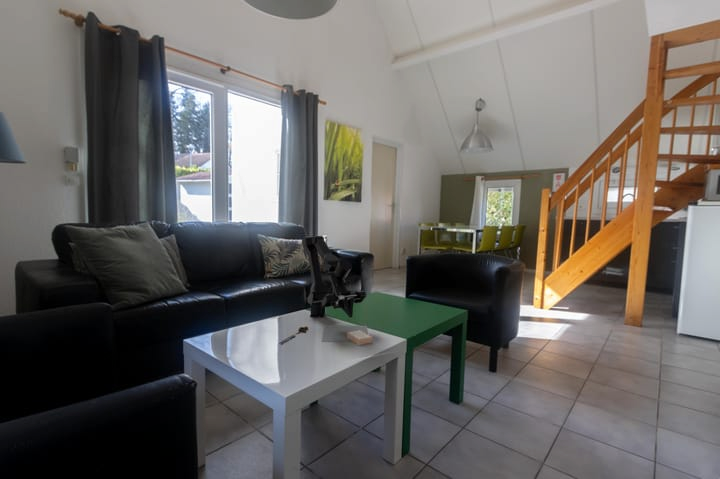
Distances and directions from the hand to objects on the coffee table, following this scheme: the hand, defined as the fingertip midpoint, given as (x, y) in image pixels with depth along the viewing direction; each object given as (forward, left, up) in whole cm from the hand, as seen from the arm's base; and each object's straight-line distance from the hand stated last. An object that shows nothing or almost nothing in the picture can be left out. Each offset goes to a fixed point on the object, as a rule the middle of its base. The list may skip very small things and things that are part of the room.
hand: (351, 317), depth 140 cm
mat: (-2, +2, -8) cm, 8 cm away
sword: (-22, -4, -8) cm, 24 cm away
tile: (+1, -2, -6) cm, 7 cm away
